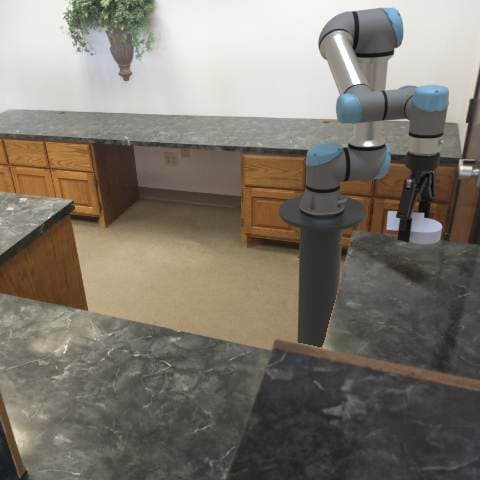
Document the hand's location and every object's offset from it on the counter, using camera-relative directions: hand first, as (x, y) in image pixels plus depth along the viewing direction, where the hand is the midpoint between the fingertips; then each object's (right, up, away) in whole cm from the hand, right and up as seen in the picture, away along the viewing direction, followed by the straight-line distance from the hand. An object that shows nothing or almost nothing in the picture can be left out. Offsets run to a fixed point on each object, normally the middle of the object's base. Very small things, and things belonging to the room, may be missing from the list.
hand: (412, 232), depth 134 cm
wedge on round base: (0, -1, +1) cm, 1 cm away
